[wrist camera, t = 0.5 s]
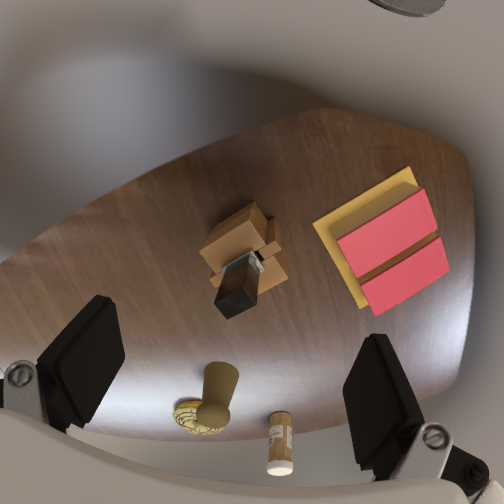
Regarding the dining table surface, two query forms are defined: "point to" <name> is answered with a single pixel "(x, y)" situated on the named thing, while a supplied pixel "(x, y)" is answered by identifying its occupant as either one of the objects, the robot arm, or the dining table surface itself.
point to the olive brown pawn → (217, 395)
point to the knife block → (247, 246)
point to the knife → (239, 284)
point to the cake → (385, 242)
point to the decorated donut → (191, 418)
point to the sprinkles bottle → (280, 444)
